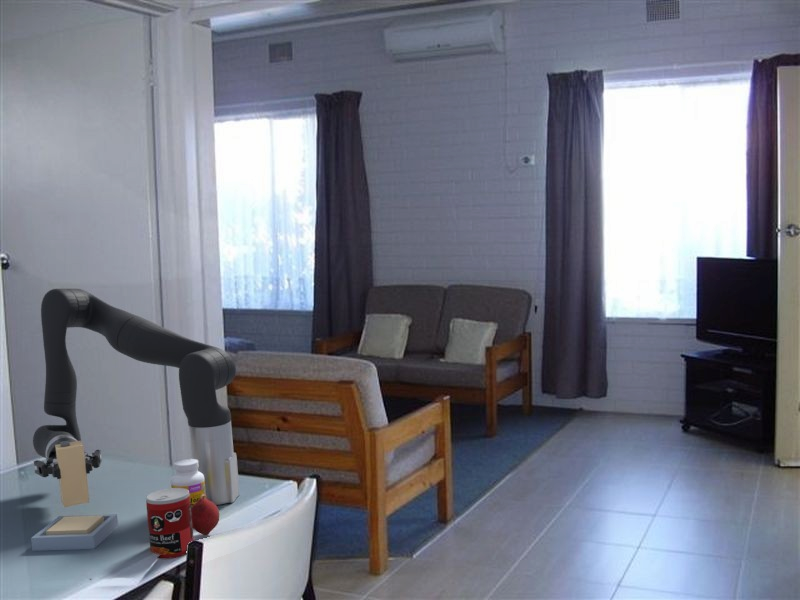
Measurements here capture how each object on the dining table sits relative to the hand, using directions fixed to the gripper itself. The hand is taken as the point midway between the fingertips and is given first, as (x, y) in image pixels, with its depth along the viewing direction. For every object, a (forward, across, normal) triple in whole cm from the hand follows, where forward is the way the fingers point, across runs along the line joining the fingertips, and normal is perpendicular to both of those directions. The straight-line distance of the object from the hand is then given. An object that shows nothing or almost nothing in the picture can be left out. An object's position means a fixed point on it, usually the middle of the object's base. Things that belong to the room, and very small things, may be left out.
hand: (73, 471), depth 182 cm
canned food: (+25, +14, +13) cm, 31 cm away
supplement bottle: (+11, +20, +12) cm, 26 cm away
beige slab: (+9, -2, +11) cm, 14 cm away
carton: (-3, 0, +7) cm, 8 cm away
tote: (+9, -2, +12) cm, 15 cm away
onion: (+20, +21, +13) cm, 32 cm away
